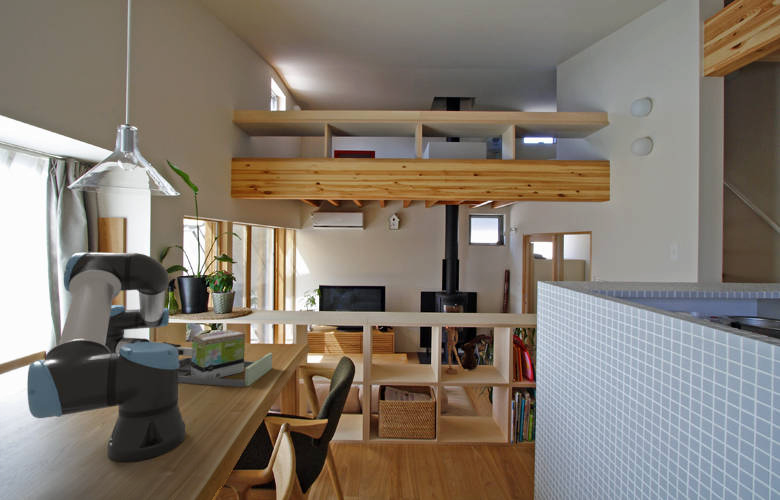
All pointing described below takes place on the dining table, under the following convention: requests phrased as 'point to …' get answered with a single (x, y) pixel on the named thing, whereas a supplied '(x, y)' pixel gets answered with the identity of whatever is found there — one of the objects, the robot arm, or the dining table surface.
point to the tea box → (218, 354)
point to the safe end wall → (258, 369)
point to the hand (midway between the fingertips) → (193, 352)
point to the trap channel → (186, 370)
